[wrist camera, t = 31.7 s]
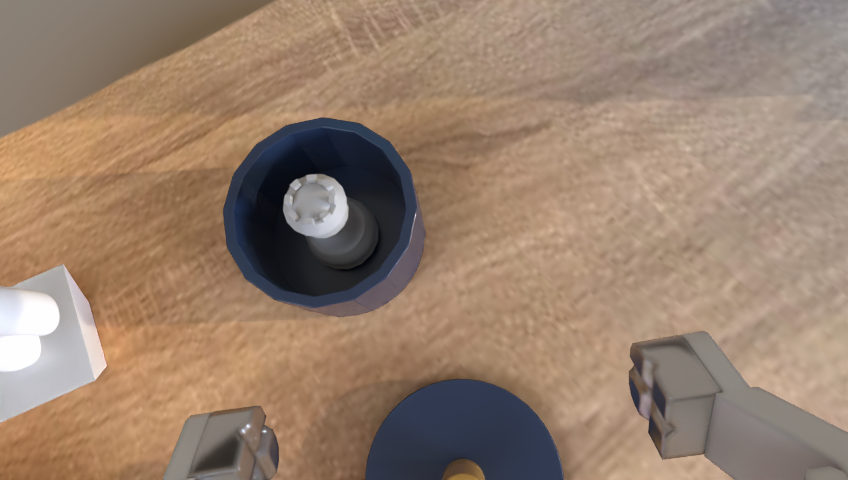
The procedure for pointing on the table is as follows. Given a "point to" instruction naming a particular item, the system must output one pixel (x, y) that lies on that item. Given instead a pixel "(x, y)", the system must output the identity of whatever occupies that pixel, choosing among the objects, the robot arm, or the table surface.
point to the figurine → (45, 341)
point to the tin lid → (463, 437)
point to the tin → (288, 249)
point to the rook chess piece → (330, 221)
